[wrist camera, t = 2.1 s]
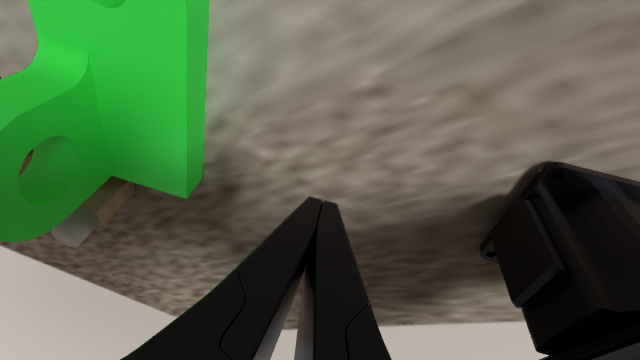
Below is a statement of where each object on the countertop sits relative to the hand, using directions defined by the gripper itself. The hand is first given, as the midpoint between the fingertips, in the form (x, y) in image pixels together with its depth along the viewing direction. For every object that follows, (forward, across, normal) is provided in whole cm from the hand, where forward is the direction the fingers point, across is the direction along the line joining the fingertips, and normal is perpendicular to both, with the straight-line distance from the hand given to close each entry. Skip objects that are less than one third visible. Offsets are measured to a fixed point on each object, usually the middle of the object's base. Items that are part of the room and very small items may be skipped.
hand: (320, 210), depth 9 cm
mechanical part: (+7, +9, 0) cm, 12 cm away
